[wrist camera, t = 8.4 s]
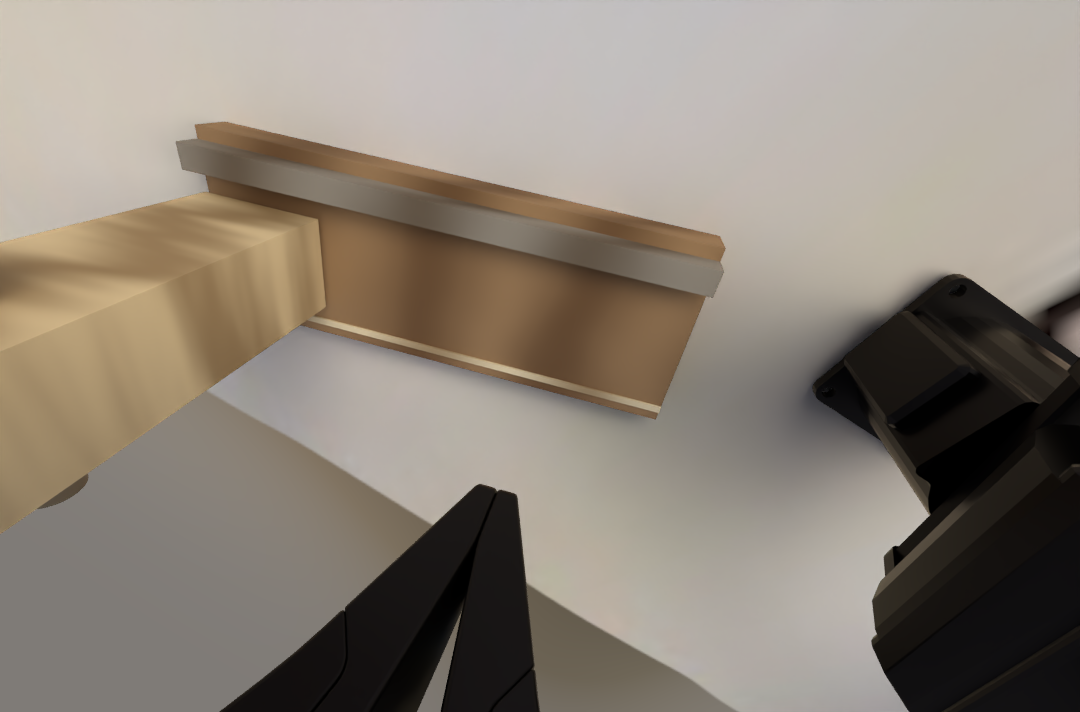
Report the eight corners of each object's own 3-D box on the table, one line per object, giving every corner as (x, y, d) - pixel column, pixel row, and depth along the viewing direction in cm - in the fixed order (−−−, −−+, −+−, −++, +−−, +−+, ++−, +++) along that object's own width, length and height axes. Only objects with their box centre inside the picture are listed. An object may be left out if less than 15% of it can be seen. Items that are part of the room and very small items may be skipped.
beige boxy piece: (313, 167, 17) (-531, 382, 5) (329, 343, 22) (-101, 698, 9) (194, 139, 18) (-867, 273, 5) (233, 318, 22) (-304, 624, 10)
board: (720, 236, 17) (729, 257, 15) (655, 399, 22) (655, 433, 20) (224, 121, 19) (172, 126, 17) (256, 295, 23) (217, 316, 21)
